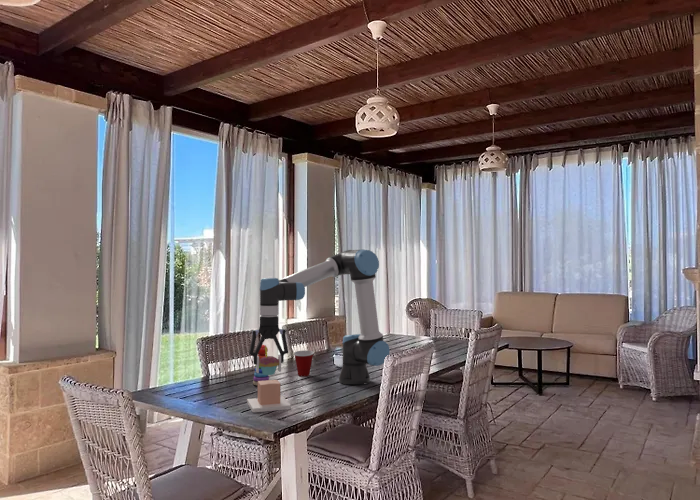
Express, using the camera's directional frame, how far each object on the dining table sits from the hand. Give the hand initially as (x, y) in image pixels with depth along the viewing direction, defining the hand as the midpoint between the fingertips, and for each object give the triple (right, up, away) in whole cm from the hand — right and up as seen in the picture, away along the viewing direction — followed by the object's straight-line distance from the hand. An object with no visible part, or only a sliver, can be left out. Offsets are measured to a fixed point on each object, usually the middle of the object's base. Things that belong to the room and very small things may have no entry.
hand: (268, 371), depth 212 cm
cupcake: (0, -1, 0) cm, 1 cm away
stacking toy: (-9, -15, +37) cm, 41 cm away
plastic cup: (+9, -15, +57) cm, 60 cm away
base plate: (0, -14, 0) cm, 14 cm away
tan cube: (0, -12, 0) cm, 12 cm away
